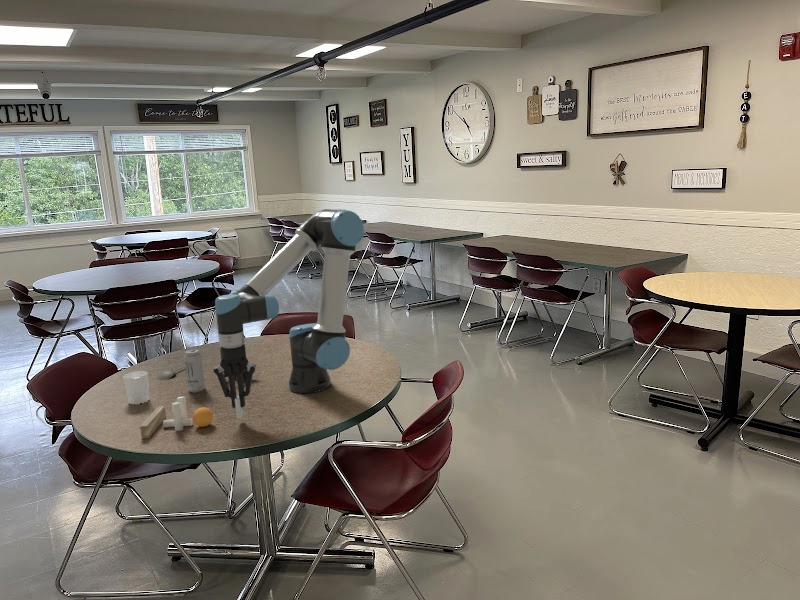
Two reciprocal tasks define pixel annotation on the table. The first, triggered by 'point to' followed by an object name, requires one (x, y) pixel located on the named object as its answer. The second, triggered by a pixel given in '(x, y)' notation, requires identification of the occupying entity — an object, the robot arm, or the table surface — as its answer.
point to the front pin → (171, 424)
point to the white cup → (137, 386)
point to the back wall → (153, 422)
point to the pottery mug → (245, 374)
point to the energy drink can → (194, 370)
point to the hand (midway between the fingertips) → (240, 416)
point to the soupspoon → (167, 374)
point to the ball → (203, 417)
